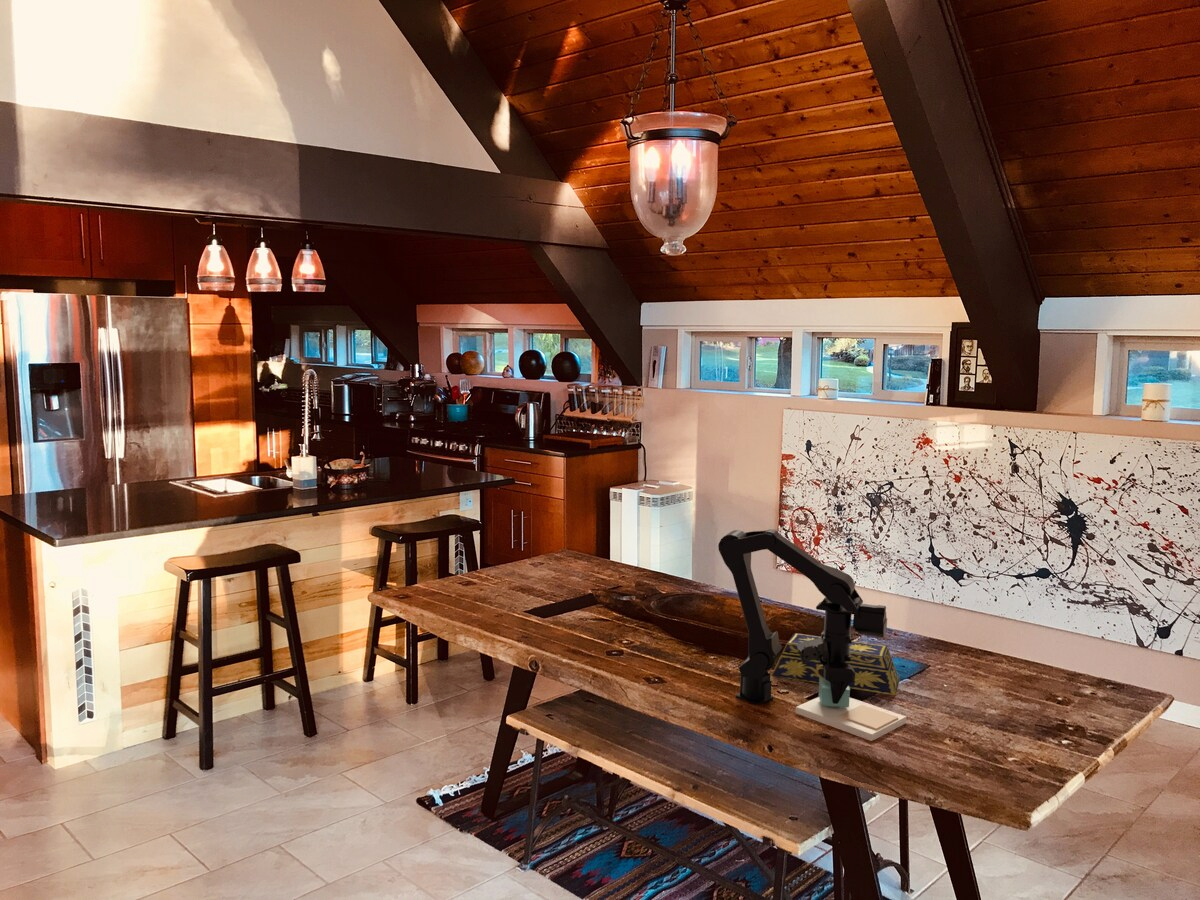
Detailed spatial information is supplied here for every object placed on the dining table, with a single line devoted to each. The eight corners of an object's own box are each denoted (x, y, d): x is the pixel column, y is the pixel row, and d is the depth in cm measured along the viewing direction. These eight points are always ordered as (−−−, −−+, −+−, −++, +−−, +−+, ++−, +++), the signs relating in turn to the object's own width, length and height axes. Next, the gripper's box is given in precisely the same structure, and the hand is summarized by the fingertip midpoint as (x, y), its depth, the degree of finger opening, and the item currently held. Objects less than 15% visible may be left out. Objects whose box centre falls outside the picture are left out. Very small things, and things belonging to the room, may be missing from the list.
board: (795, 713, 213) (796, 691, 212) (831, 697, 222) (832, 676, 222) (871, 741, 199) (873, 718, 198) (905, 723, 209) (907, 701, 208)
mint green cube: (818, 694, 217) (819, 678, 216) (845, 696, 216) (846, 679, 216) (821, 705, 211) (822, 687, 210) (848, 707, 210) (849, 689, 210)
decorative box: (896, 697, 224) (899, 660, 223) (770, 677, 236) (771, 642, 234) (900, 681, 234) (903, 646, 233) (779, 663, 245) (780, 629, 244)
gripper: (797, 615, 222) (794, 680, 224) (803, 641, 203) (800, 711, 205) (846, 618, 220) (842, 683, 222) (857, 645, 202) (853, 715, 204)
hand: (833, 697), depth 213 cm, fingers closed on mint green cube, 6 cm apart
